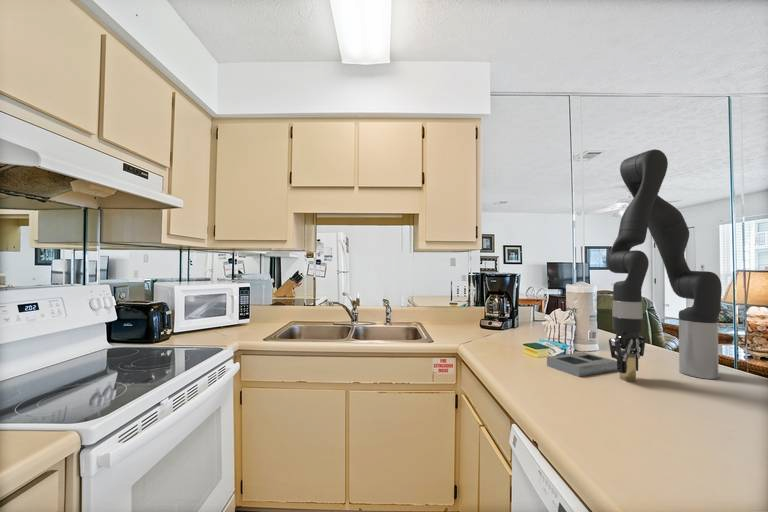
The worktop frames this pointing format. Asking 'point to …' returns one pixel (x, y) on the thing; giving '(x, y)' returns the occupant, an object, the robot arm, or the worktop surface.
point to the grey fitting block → (582, 364)
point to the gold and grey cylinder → (630, 368)
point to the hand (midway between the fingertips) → (627, 371)
